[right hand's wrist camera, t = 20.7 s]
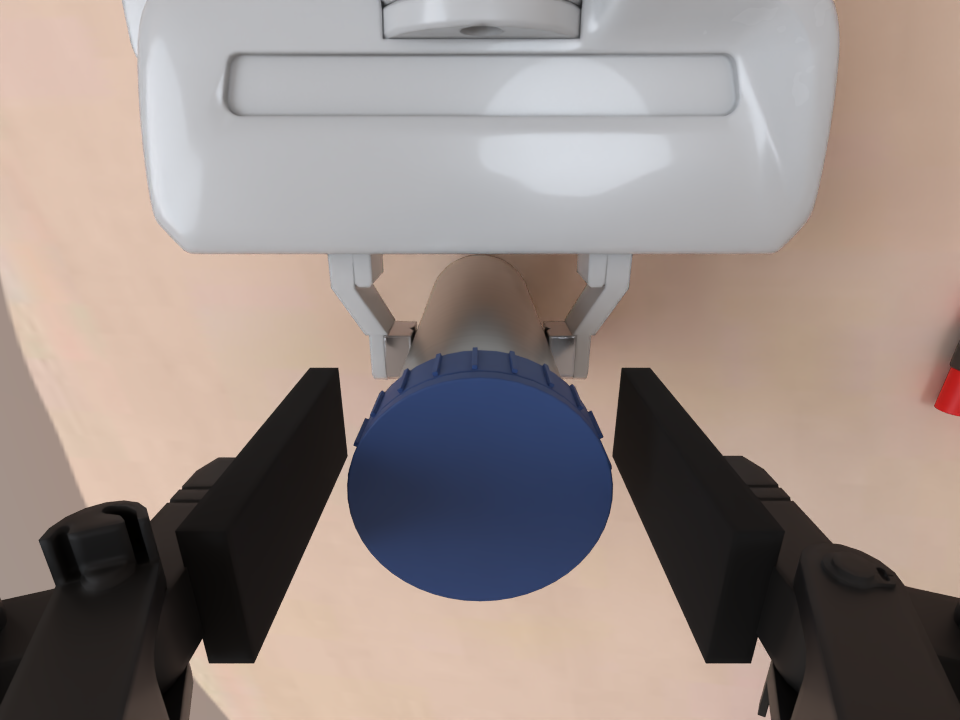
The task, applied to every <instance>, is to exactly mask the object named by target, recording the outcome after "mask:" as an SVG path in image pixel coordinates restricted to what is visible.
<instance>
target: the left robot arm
mask: <svg viewBox="0 0 960 720" xmlns="http://www.w3.org/2000/svg"><path fill="white" fill-rule="evenodd" d="M122 3H123V8H124V13H125V18H126V23H127V27H128V32H129V37H130V41H131V45H132V48H133V50H134V53H135V55H136V57H137V66H138V89H139V108H140V122H141V132H142V142H143V152H144V160H145V168H146V176H147V182H148V189H149V195H150V201H151V205H152V210H153V213H154V216H155V219H156V221H157V223H158V224H159V225H160V226H161V227H162V228H163V229H164V230H165V231H166V233H167V234H168V235H169V236H170V237H171V238H172V239H173V240H174V241H175V242H176V243H177V244H178V245H179V246H180V247H181V248H182V249H183V250H184V251H186V252H188V253H191V254H328V262H329V271H330V281H331V288H332V290H333V291H334V292H335V294H336V295H337V297H338V298H339V299H340V301H341V302H342V304H343V305H344V306H345V308H346V309H347V310H348V312H349V313H350V315H351V316H352V317H353V319H354V320H355V322H356V323H357V324H358V326H359V327H360V328H361V330H362V331H363V333H364V334H365V335H369V341H370V353H371V365H372V375H373V377H374V379H399V377H400V374H401V371H402V369H403V366H404V363H405V361H406V358H407V355H408V353H409V350H410V347H411V345H412V342H413V339H414V337H415V334H416V332H417V322H415V321H395V319H394V317H393V315H392V314H391V312H390V311H389V309H388V307H387V306H386V304H385V303H384V301H383V299H382V298H381V296H380V295H379V293H378V291H377V290H376V288H375V287H374V285H373V283H374V282H375V281H376V280H377V278H378V277H379V276H380V275H381V274H382V273H383V255H382V254H578V257H577V273H578V274H579V275H580V276H581V277H582V278H583V279H584V281H585V282H586V283H587V285H586V287H585V288H584V290H583V291H582V293H581V295H580V296H579V298H578V299H577V301H576V303H575V304H574V306H573V307H572V309H571V310H570V312H569V314H568V315H567V317H566V318H565V321H546V322H543V331H544V334H545V336H546V339H547V342H548V344H549V347H550V350H551V352H552V355H553V358H554V360H555V363H556V366H557V368H558V371H559V374H560V376H561V379H586V378H587V374H588V367H589V354H590V342H591V335H595V334H596V333H597V331H598V330H599V329H600V327H601V326H602V324H603V323H604V322H605V320H606V319H607V318H608V316H609V315H610V313H611V312H612V311H613V309H614V308H615V307H616V305H617V304H618V302H619V301H620V300H621V298H622V297H623V296H624V294H625V293H626V291H627V290H628V289H629V281H630V272H631V263H632V254H772V253H775V252H777V251H779V250H780V249H781V248H782V247H783V246H785V245H786V244H787V243H788V242H789V241H790V240H791V239H792V238H793V237H794V236H795V235H796V233H797V232H798V231H799V230H800V229H801V228H802V227H803V226H804V225H805V224H806V223H807V221H808V219H809V218H810V216H811V213H812V211H813V208H814V205H815V201H816V197H817V194H818V190H819V186H820V181H821V176H822V171H823V166H824V161H825V156H826V151H827V145H828V139H829V133H830V127H831V120H832V113H833V107H834V100H835V91H836V83H837V74H838V63H839V47H840V35H839V22H838V15H837V11H836V7H835V4H834V1H833V0H122Z"/></svg>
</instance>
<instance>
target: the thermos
mask: <svg viewBox="0 0 960 720" xmlns="http://www.w3.org/2000/svg"><path fill="white" fill-rule="evenodd" d="M473 347H478V350H487V351H499V352H504V353H509V352H510V351H514V352H515V355H517V356H520V357H523V358H527V359H529V360H531V361H534V362H536V363H538V364H540V365H542V366H543V364H544V363H545V364H547V365H548V366H549V369H550V371H552V372H553V373H555V374H556V375H558V376H559V377H560V378H561V376H560V374H559V371H558V368H557V366H556V363H555V360H554V358H553V355H552V352H551V350H550V347H549V344H548V342H547V339H546V336H545V334H544V331H543V328H542V326H541V323H540V320H539V318H538V315H537V313H536V310H535V307H534V305H533V302H532V299H531V297H530V294H529V291H528V289H527V286H526V284H525V282H524V280H523V278H522V276H521V275H520V274H519V272H518V271H517V270H516V269H515V268H514V267H513V266H511V265H510V264H509V263H507V262H505V261H504V260H502V259H499V258H497V257H493V256H489V255H471V256H467V257H463V258H461V259H459V260H456V261H455V262H453V263H451V264H450V265H449V266H448V267H446V268H445V269H444V270H443V271H442V273H441V274H440V275H439V277H438V278H437V280H436V282H435V284H434V286H433V289H432V292H431V294H430V297H429V300H428V302H427V305H426V308H425V310H424V313H423V316H422V318H421V321H420V324H419V326H418V329H417V332H416V334H415V337H414V339H413V342H412V345H411V347H410V350H409V353H408V355H407V358H406V361H405V363H404V366H403V369H402V371H401V374H400V377H401V376H402V375H403V372H404V370H405V369H407V368H408V369H409V370H412V369H413V368H415V367H416V366H418V365H420V364H422V363H424V362H427V361H429V360H431V359H434V358H435V357H436V354H439V353H441V355H442V356H443V355H446V354H451V353H456V352H461V351H473ZM400 377H399V378H400Z"/></svg>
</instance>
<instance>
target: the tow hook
mask: <svg viewBox="0 0 960 720" xmlns="http://www.w3.org/2000/svg"><path fill="white" fill-rule="evenodd" d="M950 366H951V369H950V371H949V373H948V376H947V378H946V380H945V382H944V385H943V387H942V389H941V391H940V394H939V396H938V398H937V401H936V403H935V405H934V406H935V408H937V409H938V410H940V411H942V412H945V413H948V414H951V415H955V416H960V341H959V344H958V346H957V348H956V350H955V353H954V355H953V357H952V360H951V362H950Z"/></svg>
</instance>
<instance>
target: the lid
mask: <svg viewBox="0 0 960 720" xmlns="http://www.w3.org/2000/svg"><path fill="white" fill-rule="evenodd" d="M601 438H603V435H602V433H601V430H600V428H599V426H598V424H597V422H596V419H595V417H594V415H593V413H592V411H589V412H588V411H587V409H586V407H585V406H584V404H583V403H582V401H581V400H580V397H579V395H578V393H577V390H576V388H575V386H574V385H573V384H572V385H570V386H569V385H568V384H567V383H566V382H565V381H563V380H562V379H561V378H560V377H559V376H558V375H556V374H555V373H553V372H552V371H550V369H549V366H548V365H547V364H545V363H544V364H543V366H542V365H540V364H538V363H536V362H534V361H531V360H529V359H527V358H523V357H520V356H517V355H515V352H514V351H510V352H509V353H504V352H499V351H487V350H478V347H473V351H461V352H456V353H451V354H446V355H443V356H442V355H441V353H439V354H436V357H435V358H434V359H431V360H429V361H427V362H424V363H422V364H420V365H418V366H416V367H415V368H413V369H412V370H409V369H408V368H407V369H405V370H404V372H403V375H402V376H401V377H400V378H399V379H398V380H397V381H396V382H394V383H393V384H392V385H391V386H390V387H389V388H388V390H387V391H386V392H383V391H381V392H380V393H379V396H378V398H377V400H376V403H375V405H374V407H373V409H372V412H371V414H370V418H369V419H366V418H365V420H364V422H363V424H362V427H361V429H360V431H359V433H358V436H357V438H356V440H355V442H354V446H356V447H357V448H356V450H355V452H354V455H353V458H352V461H351V465H350V468H349V473H348V483H347V492H348V503H349V508H350V514H351V517H352V519H353V522H354V525H355V528H356V530H357V532H358V534H359V536H360V538H361V539H362V541H363V543H364V544H365V545H366V547H367V548H368V550H369V551H370V552H371V554H372V555H373V556H374V557H375V558H376V559H377V560H378V561H379V562H380V563H381V564H382V565H383V566H384V567H385V568H387V569H388V570H389V571H390V572H391V573H393V574H394V575H396V576H397V577H399V578H400V579H402V580H403V581H405V582H407V583H409V584H411V585H413V586H415V587H417V588H419V589H421V590H424V591H427V592H429V593H432V594H435V595H439V596H443V597H447V598H452V599H458V600H466V601H494V600H502V599H508V598H514V597H517V596H521V595H525V594H528V593H531V592H534V591H536V590H539V589H542V588H544V587H545V586H547V585H549V584H551V583H553V582H555V581H557V580H558V579H560V578H561V577H563V576H564V575H566V574H568V573H569V572H570V571H571V570H572V569H574V568H575V567H576V566H577V565H578V564H579V563H580V562H581V561H582V560H583V559H584V558H585V557H586V556H587V555H588V554H589V553H590V551H591V550H592V548H593V547H594V546H595V544H596V543H597V541H598V540H599V538H600V536H601V534H602V532H603V530H604V528H605V526H606V523H607V520H608V517H609V514H610V509H611V504H612V496H613V482H612V474H611V469H612V466H611V463H610V461H609V459H608V456H607V454H606V452H605V449H604V447H603V445H602V442H601V440H600V439H601Z"/></svg>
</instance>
